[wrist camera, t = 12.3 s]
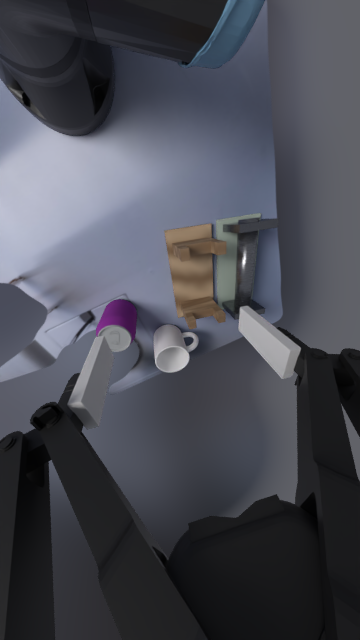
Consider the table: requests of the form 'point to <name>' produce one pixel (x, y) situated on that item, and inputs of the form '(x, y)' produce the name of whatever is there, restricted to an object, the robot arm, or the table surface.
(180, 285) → the cradle
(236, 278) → the rod
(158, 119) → the table surface
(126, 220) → the table surface
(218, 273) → the mat
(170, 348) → the mug
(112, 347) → the beverage can
